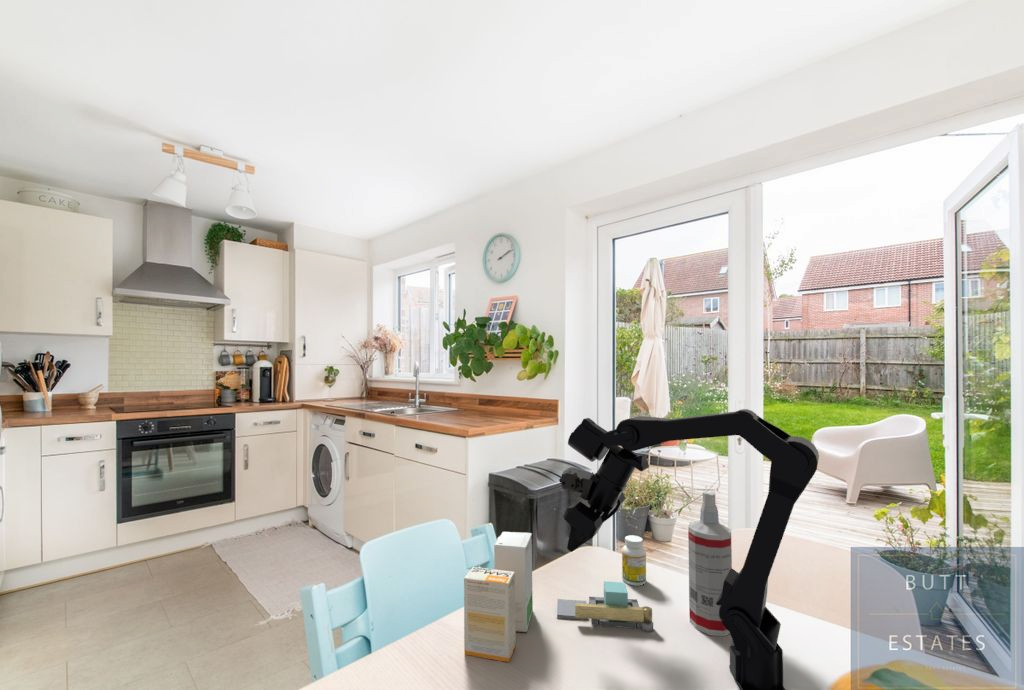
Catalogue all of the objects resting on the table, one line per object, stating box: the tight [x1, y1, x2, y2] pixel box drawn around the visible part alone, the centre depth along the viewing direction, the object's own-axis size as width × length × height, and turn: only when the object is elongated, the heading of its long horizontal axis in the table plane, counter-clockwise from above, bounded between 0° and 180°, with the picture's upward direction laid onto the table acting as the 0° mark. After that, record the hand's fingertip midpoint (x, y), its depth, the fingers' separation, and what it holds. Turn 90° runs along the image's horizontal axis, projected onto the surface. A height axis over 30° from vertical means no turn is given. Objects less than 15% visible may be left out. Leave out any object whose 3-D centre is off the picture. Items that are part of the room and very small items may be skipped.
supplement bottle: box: [621, 534, 647, 587], centre depth 104 cm, size 5×5×10 cm
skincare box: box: [493, 531, 534, 633], centre depth 88 cm, size 8×7×16 cm
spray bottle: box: [687, 491, 733, 637], centre depth 87 cm, size 8×8×25 cm
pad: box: [556, 598, 589, 621], centre depth 91 cm, size 6×6×1 cm
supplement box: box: [463, 566, 517, 663], centre depth 78 cm, size 8×5×13 cm, turn 74°
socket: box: [588, 596, 654, 633], centre depth 89 cm, size 12×9×1 cm
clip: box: [575, 603, 653, 624], centre depth 86 cm, size 14×2×2 cm, turn 84°
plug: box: [598, 581, 636, 629], centre depth 89 cm, size 7×7×6 cm
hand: (578, 540), depth 89 cm, fingers open, 9 cm apart
